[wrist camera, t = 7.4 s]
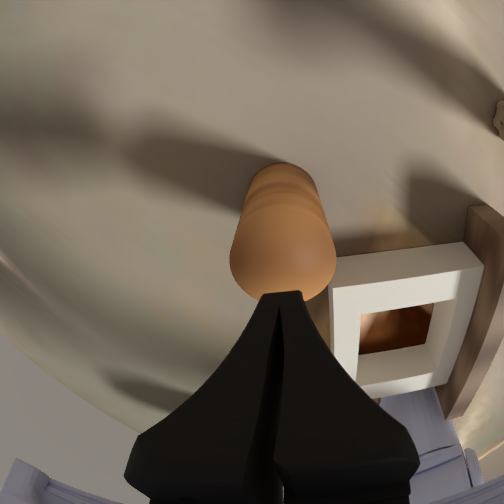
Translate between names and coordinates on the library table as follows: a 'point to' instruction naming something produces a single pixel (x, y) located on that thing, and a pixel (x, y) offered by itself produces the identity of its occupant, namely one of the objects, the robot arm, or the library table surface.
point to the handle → (499, 118)
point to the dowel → (282, 235)
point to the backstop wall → (479, 313)
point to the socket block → (400, 296)
